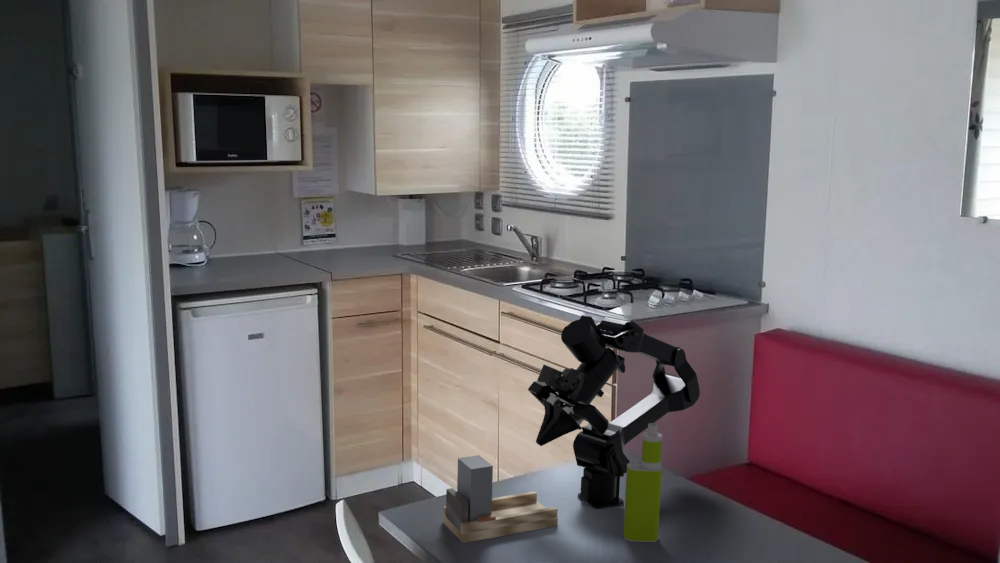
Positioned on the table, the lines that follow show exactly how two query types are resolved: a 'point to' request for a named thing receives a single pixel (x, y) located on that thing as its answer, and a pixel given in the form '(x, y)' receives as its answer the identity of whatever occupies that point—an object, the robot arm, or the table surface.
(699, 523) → the table surface
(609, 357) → the robot arm
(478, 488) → the grey rectangular box
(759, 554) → the table surface
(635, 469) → the vape
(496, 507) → the sleeve track
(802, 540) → the table surface
